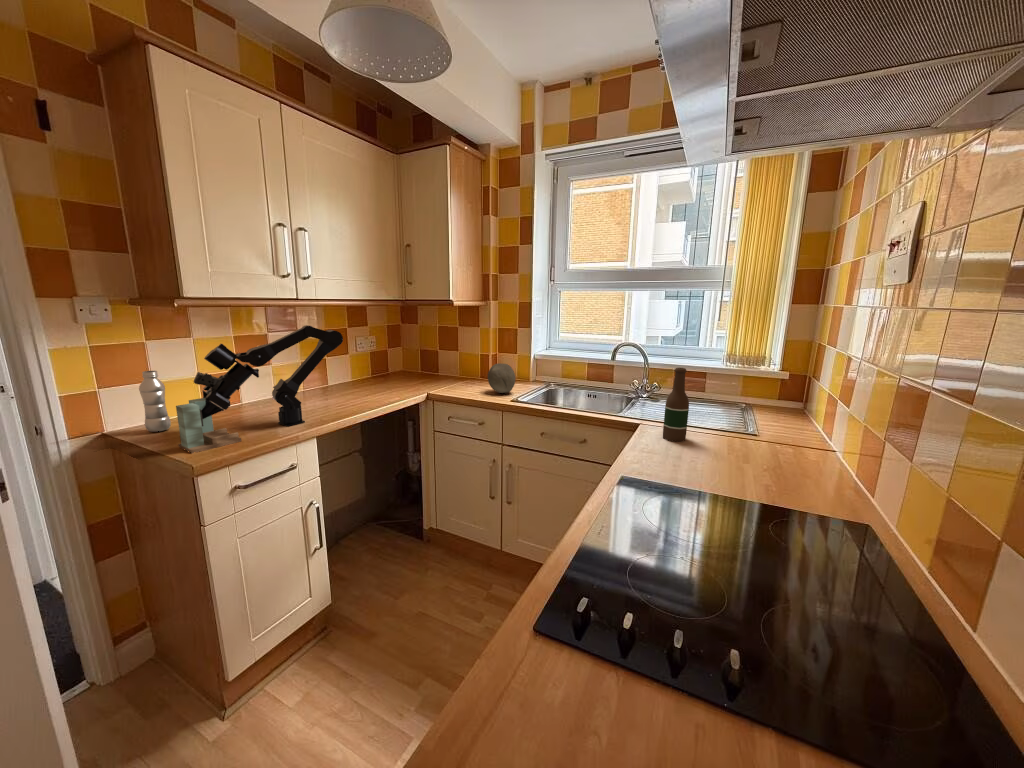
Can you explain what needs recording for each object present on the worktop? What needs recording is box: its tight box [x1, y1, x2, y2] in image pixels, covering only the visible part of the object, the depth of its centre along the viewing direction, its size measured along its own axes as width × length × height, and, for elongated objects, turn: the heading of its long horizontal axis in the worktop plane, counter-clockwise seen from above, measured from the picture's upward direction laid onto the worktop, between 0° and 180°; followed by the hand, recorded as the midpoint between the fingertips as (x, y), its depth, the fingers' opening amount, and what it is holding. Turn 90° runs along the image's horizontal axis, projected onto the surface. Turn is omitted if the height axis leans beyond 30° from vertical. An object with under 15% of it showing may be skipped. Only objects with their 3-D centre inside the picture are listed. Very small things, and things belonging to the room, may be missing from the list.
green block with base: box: [175, 403, 242, 454], centre depth 123 cm, size 13×9×13 cm
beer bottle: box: [662, 367, 690, 443], centre depth 135 cm, size 8×8×24 cm
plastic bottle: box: [138, 370, 171, 433], centre depth 133 cm, size 6×7×20 cm
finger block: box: [188, 397, 214, 433], centre depth 129 cm, size 5×4×12 cm
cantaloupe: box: [487, 363, 516, 394], centre depth 200 cm, size 14×14×15 cm
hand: (195, 416), depth 129 cm, fingers open, 9 cm apart
